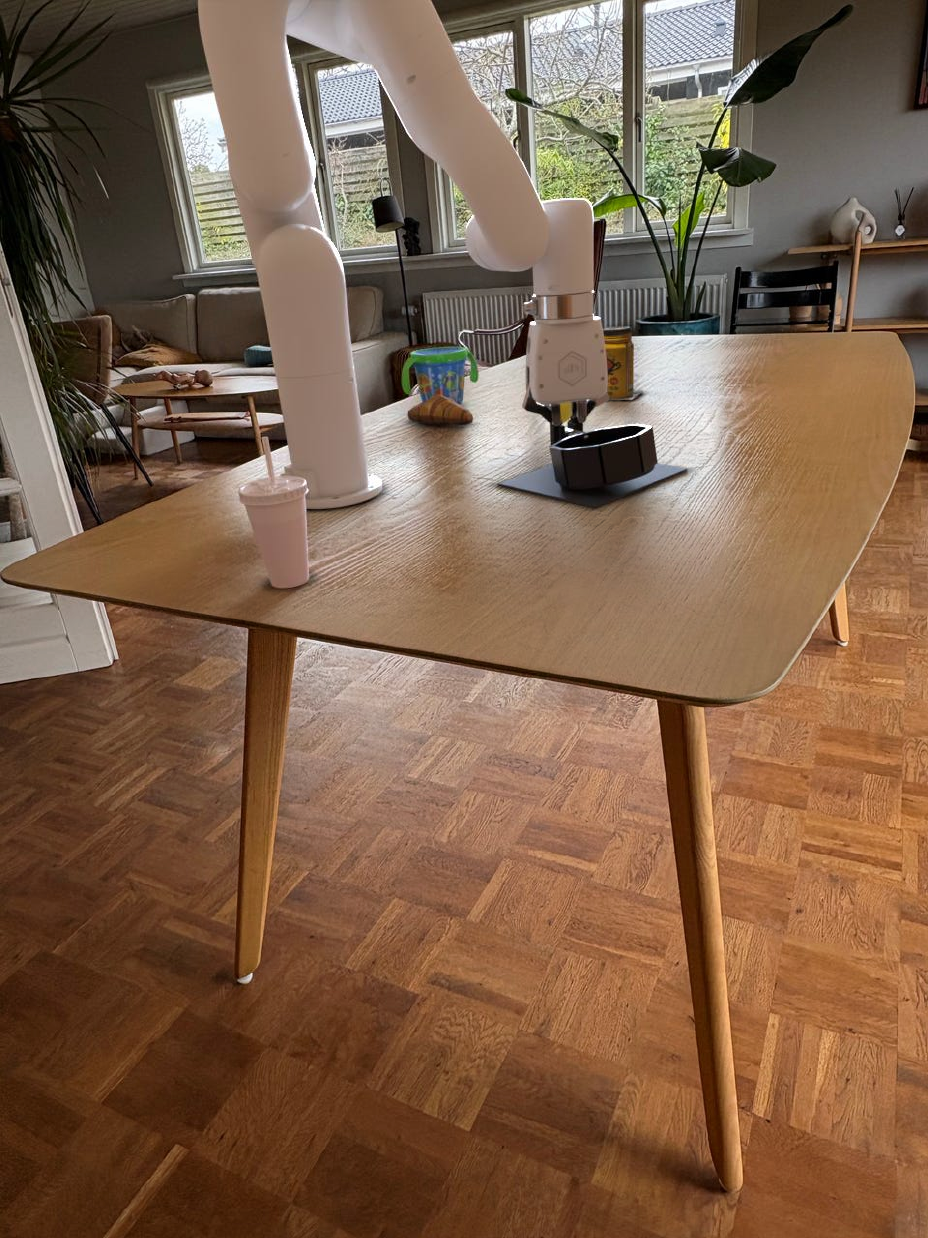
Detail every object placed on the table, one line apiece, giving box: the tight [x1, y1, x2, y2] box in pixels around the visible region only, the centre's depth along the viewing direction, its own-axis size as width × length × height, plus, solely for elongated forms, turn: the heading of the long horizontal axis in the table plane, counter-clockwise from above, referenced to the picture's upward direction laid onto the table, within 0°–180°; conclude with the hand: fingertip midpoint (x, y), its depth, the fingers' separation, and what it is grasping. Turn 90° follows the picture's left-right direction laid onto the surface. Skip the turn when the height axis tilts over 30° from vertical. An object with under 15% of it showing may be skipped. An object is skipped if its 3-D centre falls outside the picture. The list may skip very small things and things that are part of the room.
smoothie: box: [237, 436, 310, 589], centre depth 76 cm, size 6×6×14 cm
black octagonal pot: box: [549, 423, 659, 489], centre depth 102 cm, size 22×12×5 cm, turn 12°
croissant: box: [407, 394, 474, 426], centre depth 138 cm, size 14×7×5 cm, turn 54°
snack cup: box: [401, 346, 480, 406], centre depth 150 cm, size 16×10×10 cm
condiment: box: [603, 325, 645, 401], centre depth 145 cm, size 7×8×12 cm
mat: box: [497, 463, 688, 509], centre depth 102 cm, size 18×16×1 cm
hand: (566, 451), depth 110 cm, fingers closed on black octagonal pot, 1 cm apart
